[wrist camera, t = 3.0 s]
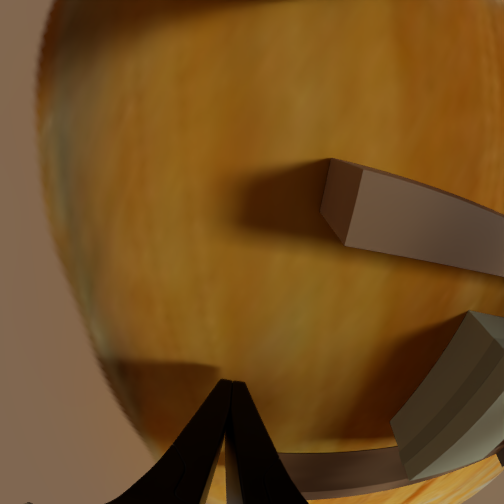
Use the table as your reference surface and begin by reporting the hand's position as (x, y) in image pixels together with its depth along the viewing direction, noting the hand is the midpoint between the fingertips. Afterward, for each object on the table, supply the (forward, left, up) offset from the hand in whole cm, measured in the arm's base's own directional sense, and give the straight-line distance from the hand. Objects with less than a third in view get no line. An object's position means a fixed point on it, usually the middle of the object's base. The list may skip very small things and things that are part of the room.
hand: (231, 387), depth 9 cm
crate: (-12, 0, -1) cm, 12 cm away
